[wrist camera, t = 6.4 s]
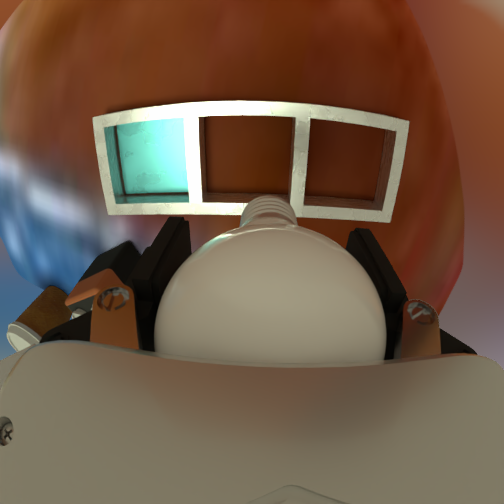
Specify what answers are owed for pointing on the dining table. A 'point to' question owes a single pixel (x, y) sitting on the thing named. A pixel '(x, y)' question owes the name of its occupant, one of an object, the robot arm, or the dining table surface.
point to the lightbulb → (271, 296)
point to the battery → (102, 276)
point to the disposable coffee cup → (39, 318)
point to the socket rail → (194, 162)
